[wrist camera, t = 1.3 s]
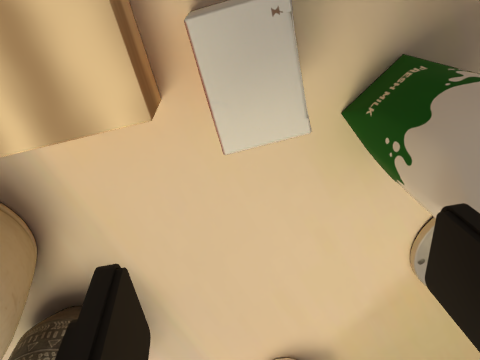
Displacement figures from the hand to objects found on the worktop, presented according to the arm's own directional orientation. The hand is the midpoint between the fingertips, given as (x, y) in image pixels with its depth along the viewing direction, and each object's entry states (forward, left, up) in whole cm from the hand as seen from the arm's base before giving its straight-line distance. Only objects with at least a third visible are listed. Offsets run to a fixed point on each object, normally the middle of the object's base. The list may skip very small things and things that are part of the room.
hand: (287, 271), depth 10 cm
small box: (-1, -3, -22) cm, 22 cm away
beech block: (+12, -7, -22) cm, 26 cm away
